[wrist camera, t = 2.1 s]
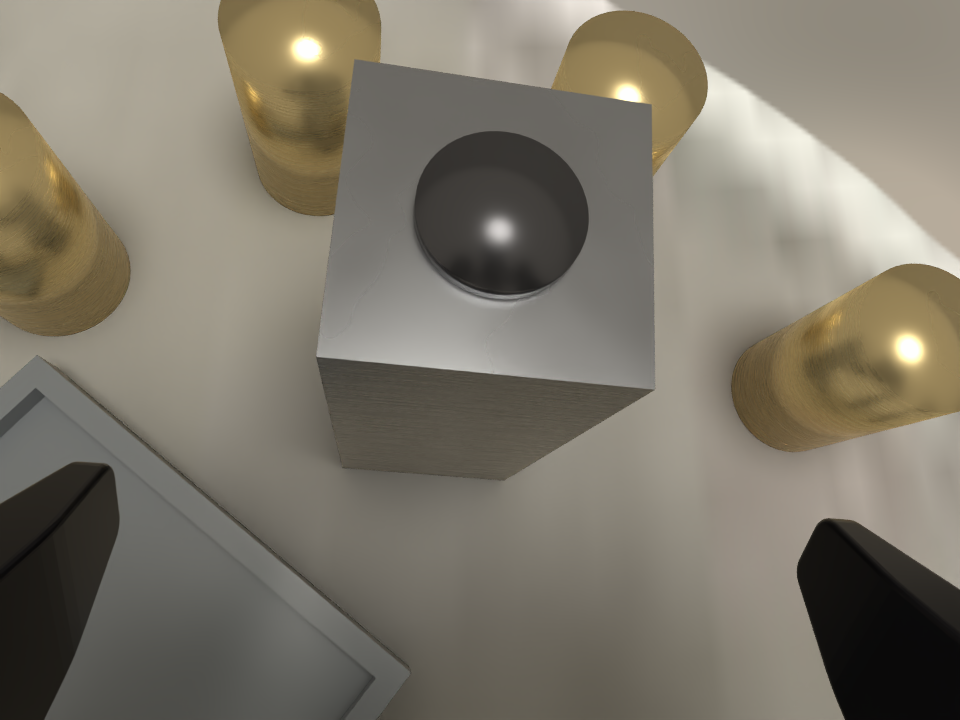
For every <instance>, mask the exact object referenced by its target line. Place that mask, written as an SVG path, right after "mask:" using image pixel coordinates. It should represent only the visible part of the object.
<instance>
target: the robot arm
mask: <svg viewBox="0 0 960 720" xmlns="http://www.w3.org/2000/svg"><path fill="white" fill-rule="evenodd" d="M119 524H120V514H119V506H118V498H117V489H116V481H115V474H114V471H113V469H112V467H111V466H110V465H108V464H106V463H95V462H82V461H77V462H72V463H70V464H67V465H66V466H64V467H62V468H60V469H59V470H57V471H55V472H53V473H52V474H50V475H48V476H47V477H45V478H43V479H41V480H40V481H38V482H36V483H34V484H33V485H31V486H29V487H28V488H26V489H24V490H22V491H21V492H19V493H17V494H15V495H14V496H12V497H10V498H9V499H7V500H5V501H3V502H2V503H0V720H44V719H45V717H46V715H47V713H48V711H49V709H50V707H51V705H52V703H53V701H54V699H55V697H56V695H57V693H58V691H59V689H60V687H61V684H62V682H63V680H64V678H65V676H66V674H67V672H68V670H69V667H70V665H71V663H72V661H73V659H74V656H75V654H76V651H77V649H78V646H79V643H80V641H81V638H82V635H83V632H84V630H85V627H86V624H87V621H88V618H89V615H90V613H91V610H92V607H93V604H94V601H95V598H96V595H97V593H98V590H99V587H100V584H101V581H102V578H103V576H104V573H105V570H106V567H107V564H108V561H109V558H110V556H111V553H112V550H113V547H114V544H115V541H116V538H117V535H118V531H119ZM797 579H798V583H799V586H800V589H801V593H802V596H803V599H804V602H805V605H806V609H807V612H808V615H809V618H810V621H811V624H812V628H813V631H814V634H815V637H816V640H817V644H818V647H819V650H820V653H821V656H822V659H823V663H824V666H825V669H826V672H827V675H828V678H829V681H830V684H831V686H832V689H833V692H834V694H835V697H836V699H837V702H838V704H839V707H840V709H841V712H842V714H843V716H844V719H845V720H960V589H958V588H957V587H955V586H954V585H952V584H951V583H949V582H948V581H946V580H944V579H943V578H941V577H940V576H938V575H937V574H935V573H934V572H932V571H931V570H929V569H928V568H926V567H925V566H923V565H922V564H920V563H919V562H917V561H915V560H914V559H912V558H911V557H909V556H908V555H906V554H905V553H903V552H902V551H900V550H899V549H897V548H896V547H894V546H893V545H891V544H889V543H888V542H886V541H885V540H883V539H882V538H880V537H879V536H877V535H876V534H874V533H873V532H871V531H870V530H868V529H867V528H865V527H863V526H862V525H860V524H859V523H857V522H855V521H852V520H844V519H831V518H827V519H823V520H822V521H820V522H819V523H818V524H817V526H816V527H815V529H814V531H813V533H812V535H811V537H810V539H809V541H808V543H807V545H806V547H805V549H804V551H803V553H802V555H801V557H800V559H799V562H798V566H797Z"/></svg>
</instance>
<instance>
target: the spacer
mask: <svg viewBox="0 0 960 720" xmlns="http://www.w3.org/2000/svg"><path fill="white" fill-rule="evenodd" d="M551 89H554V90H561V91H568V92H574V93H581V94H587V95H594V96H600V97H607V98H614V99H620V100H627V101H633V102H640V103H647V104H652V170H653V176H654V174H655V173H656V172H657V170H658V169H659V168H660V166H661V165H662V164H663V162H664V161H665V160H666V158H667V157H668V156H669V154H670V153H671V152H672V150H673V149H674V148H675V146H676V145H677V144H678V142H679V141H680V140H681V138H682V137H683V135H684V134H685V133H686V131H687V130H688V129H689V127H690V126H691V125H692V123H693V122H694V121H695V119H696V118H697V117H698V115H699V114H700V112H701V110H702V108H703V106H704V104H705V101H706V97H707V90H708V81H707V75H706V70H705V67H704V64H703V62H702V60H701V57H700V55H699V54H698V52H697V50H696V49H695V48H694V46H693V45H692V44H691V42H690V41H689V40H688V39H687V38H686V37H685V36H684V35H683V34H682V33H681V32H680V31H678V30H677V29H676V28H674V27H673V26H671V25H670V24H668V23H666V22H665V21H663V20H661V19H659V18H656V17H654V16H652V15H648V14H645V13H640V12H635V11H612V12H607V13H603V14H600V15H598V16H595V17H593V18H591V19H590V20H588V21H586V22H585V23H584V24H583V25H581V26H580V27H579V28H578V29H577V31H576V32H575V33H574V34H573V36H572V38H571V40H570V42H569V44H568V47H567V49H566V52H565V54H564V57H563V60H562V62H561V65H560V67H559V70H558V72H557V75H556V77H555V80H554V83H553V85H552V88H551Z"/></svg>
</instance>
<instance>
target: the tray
mask: <svg viewBox="0 0 960 720" xmlns="http://www.w3.org/2000/svg"><path fill="white" fill-rule="evenodd" d="M77 461H82V462H95V463H106V464H108V465H110V466H111V467H112V469H113V471H114V474H115V481H116V489H117V498H118V506H119V514H120V524H119V531H118V535H117V538H116V541H115V544H114V547H113V550H112V553H111V556H110V558H109V561H108V564H107V567H106V570H105V573H104V576H103V578H102V581H101V584H100V587H99V590H98V593H97V595H96V598H95V601H94V604H93V607H92V610H91V613H90V615H89V618H88V621H87V624H86V627H85V630H84V632H83V635H82V638H81V641H80V643H79V646H78V649H77V651H76V654H75V656H74V659H73V661H72V663H71V665H70V667H69V670H68V672H67V674H66V676H65V678H64V680H63V682H62V684H61V687H60V689H59V691H58V693H57V695H56V697H55V699H54V701H53V703H52V705H51V707H50V709H49V711H48V713H47V715H46V717H45V719H44V720H377V718H378V717H379V716H380V714H381V713H382V712H383V710H384V709H385V708H386V706H387V705H388V704H389V702H390V701H391V700H392V698H393V697H394V695H395V694H396V693H397V691H398V690H399V689H400V687H401V686H402V685H403V683H404V682H405V681H406V679H407V678H408V677H409V675H410V674H411V671H410V669H409V666H408V665H406V664H405V663H404V662H403V661H402V660H401V659H399V658H398V657H397V656H396V655H395V654H394V653H392V652H391V651H390V650H389V649H388V648H386V647H385V646H384V645H383V644H382V643H381V642H379V641H378V640H377V639H376V638H375V637H374V636H372V635H371V634H370V633H369V632H368V631H366V630H365V629H364V628H363V627H362V626H361V625H359V624H358V623H357V622H356V621H355V620H353V619H352V618H351V617H350V616H349V615H348V614H346V613H345V612H344V611H343V610H342V609H341V608H339V607H338V606H337V605H336V604H335V603H333V602H332V601H331V600H330V599H329V598H328V597H326V596H325V595H324V594H323V593H322V592H321V591H319V590H318V589H317V588H316V587H315V586H313V585H312V584H311V583H310V582H309V581H308V580H306V579H305V578H304V577H303V576H302V575H301V574H299V573H298V572H297V571H296V570H295V569H293V568H292V567H291V566H290V565H289V564H288V563H286V562H285V561H284V560H283V559H282V558H280V557H279V556H278V555H277V554H276V553H275V552H273V551H272V550H271V549H270V548H269V547H268V546H266V545H265V544H264V543H263V542H262V541H260V540H259V539H258V538H257V537H256V536H255V535H253V534H252V533H251V532H250V531H249V530H248V529H246V528H245V527H244V526H243V525H242V524H240V523H239V522H238V521H237V520H236V519H235V518H233V517H232V516H231V515H230V514H229V513H228V512H226V511H225V510H224V509H223V508H222V507H220V506H219V505H218V504H217V503H216V502H215V501H213V500H212V499H211V498H210V497H209V496H208V495H206V494H205V493H204V492H203V491H202V490H200V489H199V488H198V487H197V486H196V485H195V484H193V483H192V482H191V481H190V480H189V479H187V478H186V477H185V476H184V475H183V474H182V473H180V472H179V471H178V470H177V469H176V468H175V467H173V466H172V465H171V464H170V463H169V462H167V461H166V460H165V459H164V458H163V457H162V456H160V455H159V454H158V453H157V452H156V451H155V450H153V449H152V448H151V447H150V446H149V445H147V444H146V443H145V442H144V441H143V440H142V439H140V438H139V437H138V436H137V435H136V434H135V433H133V432H132V431H131V430H130V429H129V428H127V427H126V426H125V425H124V424H123V423H122V422H120V421H119V420H118V419H117V418H116V417H115V416H113V415H112V414H111V413H110V412H109V411H107V410H106V409H105V408H104V407H103V406H102V405H100V404H99V403H98V402H97V401H96V400H94V399H93V398H92V397H91V396H90V395H89V394H87V393H86V392H85V391H84V390H83V389H82V388H80V387H79V386H78V385H77V384H76V383H74V382H73V381H72V380H71V379H70V378H69V377H67V376H66V375H65V374H64V373H63V372H62V371H60V370H59V369H58V368H57V367H55V366H54V365H52V364H51V363H49V362H47V361H46V360H44V359H43V358H41V357H40V356H38V355H36V356H35V357H34V358H33V359H32V360H31V361H30V362H29V363H28V364H26V365H25V366H24V367H23V368H22V369H21V370H20V371H19V372H18V373H16V374H15V375H14V376H13V377H12V378H11V379H10V380H9V381H8V382H7V383H5V384H4V385H3V386H2V387H1V388H0V503H2V502H3V501H5V500H7V499H9V498H10V497H12V496H14V495H15V494H17V493H19V492H21V491H22V490H24V489H26V488H28V487H29V486H31V485H33V484H34V483H36V482H38V481H40V480H41V479H43V478H45V477H47V476H48V475H50V474H52V473H53V472H55V471H57V470H59V469H60V468H62V467H64V466H66V465H67V464H70V463H72V462H77Z"/></svg>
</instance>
